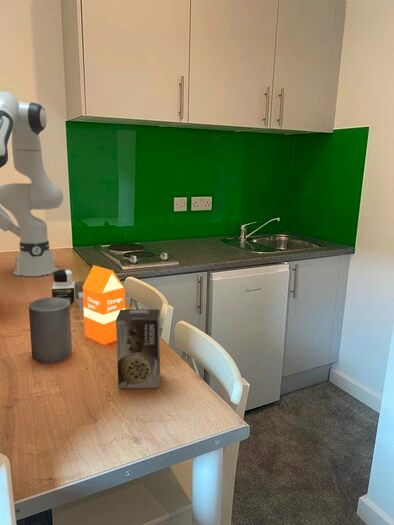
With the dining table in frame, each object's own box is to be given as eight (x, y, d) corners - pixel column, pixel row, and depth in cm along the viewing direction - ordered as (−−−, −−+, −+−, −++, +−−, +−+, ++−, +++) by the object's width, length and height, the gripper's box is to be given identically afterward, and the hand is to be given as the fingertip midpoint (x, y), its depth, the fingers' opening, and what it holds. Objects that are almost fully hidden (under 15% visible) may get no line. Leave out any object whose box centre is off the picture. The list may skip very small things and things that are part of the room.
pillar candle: (25, 353, 100) (21, 297, 96) (62, 342, 106) (59, 289, 103) (42, 367, 93) (37, 308, 89) (79, 355, 100) (77, 299, 96)
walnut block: (70, 295, 145) (70, 282, 144) (83, 293, 148) (82, 280, 147) (77, 299, 141) (76, 285, 140) (89, 296, 145) (89, 283, 144)
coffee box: (160, 373, 91) (160, 308, 88) (159, 389, 85) (159, 319, 81) (121, 373, 91) (120, 308, 87) (116, 388, 85) (115, 319, 81)
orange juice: (106, 327, 117) (104, 262, 112) (126, 336, 111) (124, 268, 107) (84, 336, 111) (81, 267, 106) (103, 345, 105) (101, 273, 101)
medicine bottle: (52, 308, 131) (50, 273, 129) (54, 301, 138) (52, 268, 135) (75, 306, 133) (73, 272, 130) (75, 300, 140) (73, 267, 137)
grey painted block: (78, 306, 134) (78, 292, 133) (93, 305, 136) (93, 291, 135) (79, 311, 129) (79, 297, 128) (95, 310, 131) (94, 295, 130)
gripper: (-9, 197, 109) (31, 230, 116) (-12, 193, 126) (23, 222, 133) (-26, 214, 108) (16, 246, 114) (-27, 207, 125) (10, 235, 132)
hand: (20, 233), depth 124 cm, fingers open, 6 cm apart
